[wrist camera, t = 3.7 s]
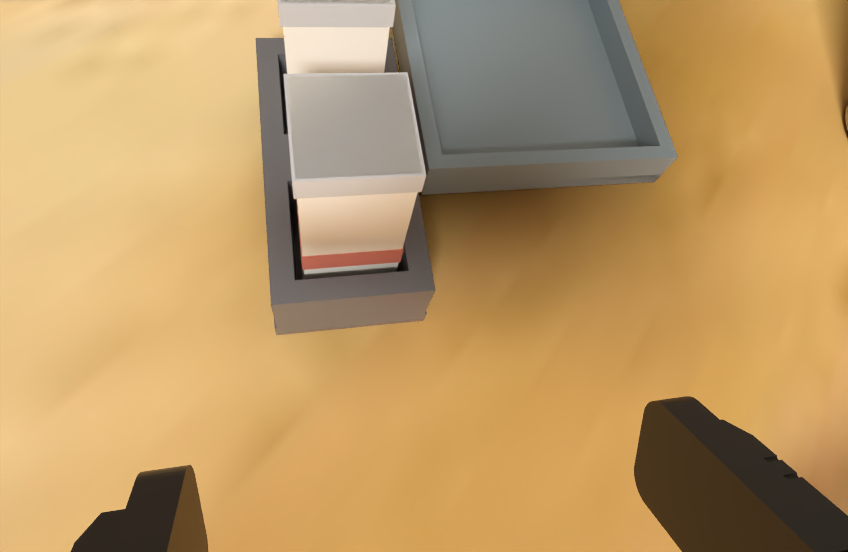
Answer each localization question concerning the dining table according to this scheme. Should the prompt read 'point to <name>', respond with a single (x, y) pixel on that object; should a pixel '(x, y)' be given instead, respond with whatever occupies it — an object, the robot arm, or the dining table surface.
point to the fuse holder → (291, 295)
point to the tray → (529, 95)
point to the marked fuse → (352, 169)
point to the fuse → (336, 35)
